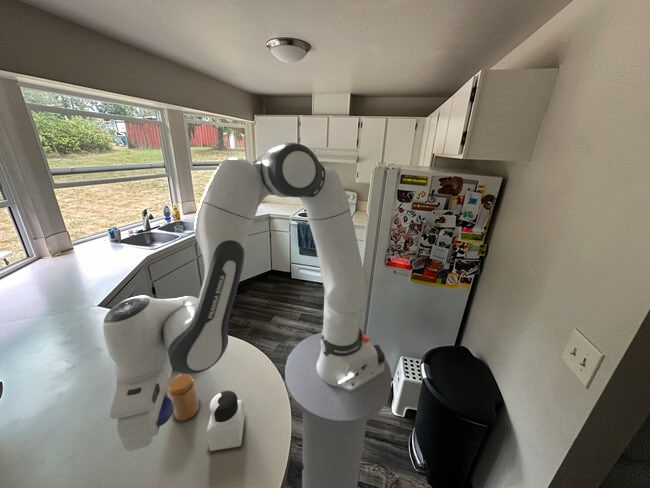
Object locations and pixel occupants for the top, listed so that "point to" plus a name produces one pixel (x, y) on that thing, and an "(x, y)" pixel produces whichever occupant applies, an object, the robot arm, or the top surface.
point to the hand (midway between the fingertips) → (158, 416)
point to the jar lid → (165, 411)
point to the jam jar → (183, 397)
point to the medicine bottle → (225, 421)
